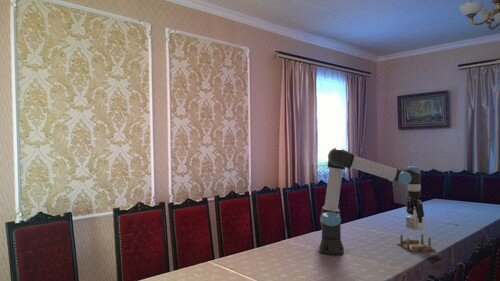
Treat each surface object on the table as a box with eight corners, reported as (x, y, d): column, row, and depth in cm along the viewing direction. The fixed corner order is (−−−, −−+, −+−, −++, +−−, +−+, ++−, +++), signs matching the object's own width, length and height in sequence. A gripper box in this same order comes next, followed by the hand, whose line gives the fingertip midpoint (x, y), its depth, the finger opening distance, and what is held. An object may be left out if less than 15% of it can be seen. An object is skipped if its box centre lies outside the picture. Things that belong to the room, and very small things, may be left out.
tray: (410, 252, 211) (409, 239, 211) (397, 244, 227) (396, 233, 227) (435, 251, 212) (434, 239, 212) (420, 243, 228) (420, 232, 228)
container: (406, 228, 222) (405, 208, 222) (415, 226, 225) (414, 207, 225) (415, 230, 215) (415, 210, 215) (425, 229, 217) (424, 208, 217)
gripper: (430, 192, 209) (431, 229, 209) (410, 188, 231) (411, 221, 231) (418, 193, 209) (419, 230, 209) (400, 188, 230) (401, 222, 230)
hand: (415, 225), depth 220 cm, fingers closed on container, 9 cm apart
